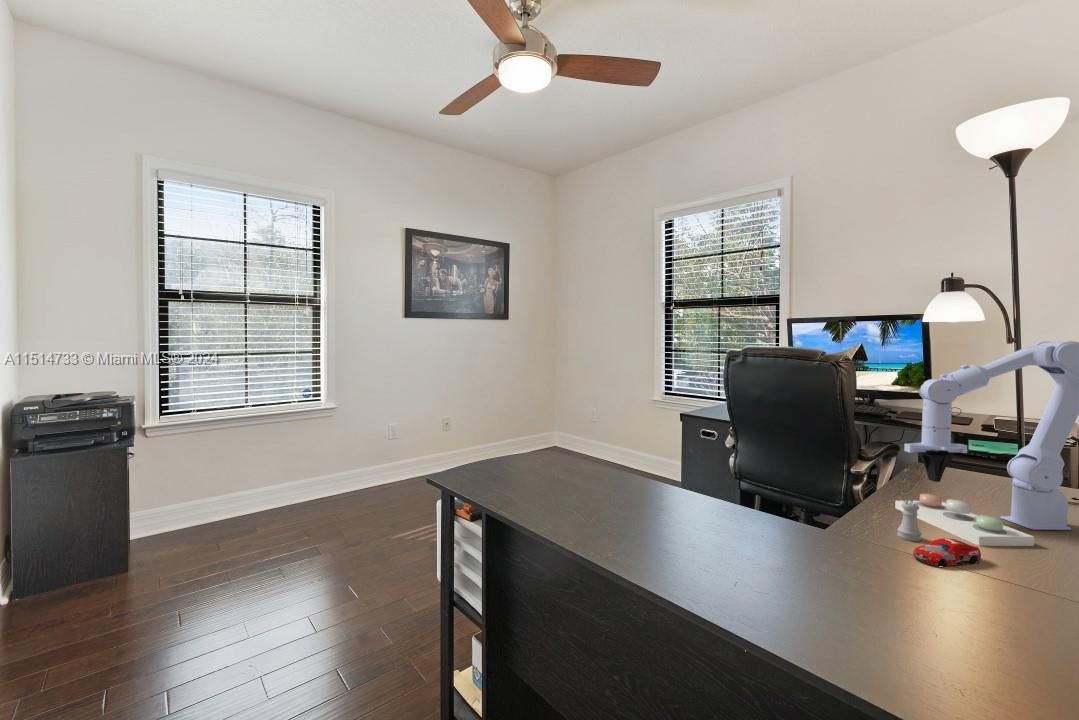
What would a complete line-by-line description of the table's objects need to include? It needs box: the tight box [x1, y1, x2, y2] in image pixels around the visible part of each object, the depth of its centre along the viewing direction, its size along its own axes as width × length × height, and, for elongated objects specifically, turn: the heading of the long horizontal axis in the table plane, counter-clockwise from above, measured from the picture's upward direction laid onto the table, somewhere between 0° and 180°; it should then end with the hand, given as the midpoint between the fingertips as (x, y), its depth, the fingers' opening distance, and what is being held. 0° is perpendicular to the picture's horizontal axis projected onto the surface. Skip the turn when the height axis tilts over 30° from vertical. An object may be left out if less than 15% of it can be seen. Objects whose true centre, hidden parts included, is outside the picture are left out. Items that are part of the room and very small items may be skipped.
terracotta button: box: [919, 493, 943, 507], centre depth 125 cm, size 4×4×2 cm
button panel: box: [894, 500, 1035, 547], centre depth 117 cm, size 12×24×2 cm, turn 1°
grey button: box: [945, 498, 972, 514], centre depth 117 cm, size 4×4×2 cm
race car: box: [912, 537, 982, 567], centre depth 98 cm, size 13×5×4 cm, turn 102°
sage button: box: [976, 514, 1004, 531], centre depth 109 cm, size 4×4×2 cm
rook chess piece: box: [896, 500, 923, 543], centre depth 109 cm, size 4×4×8 cm
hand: (934, 480), depth 125 cm, fingers closed
